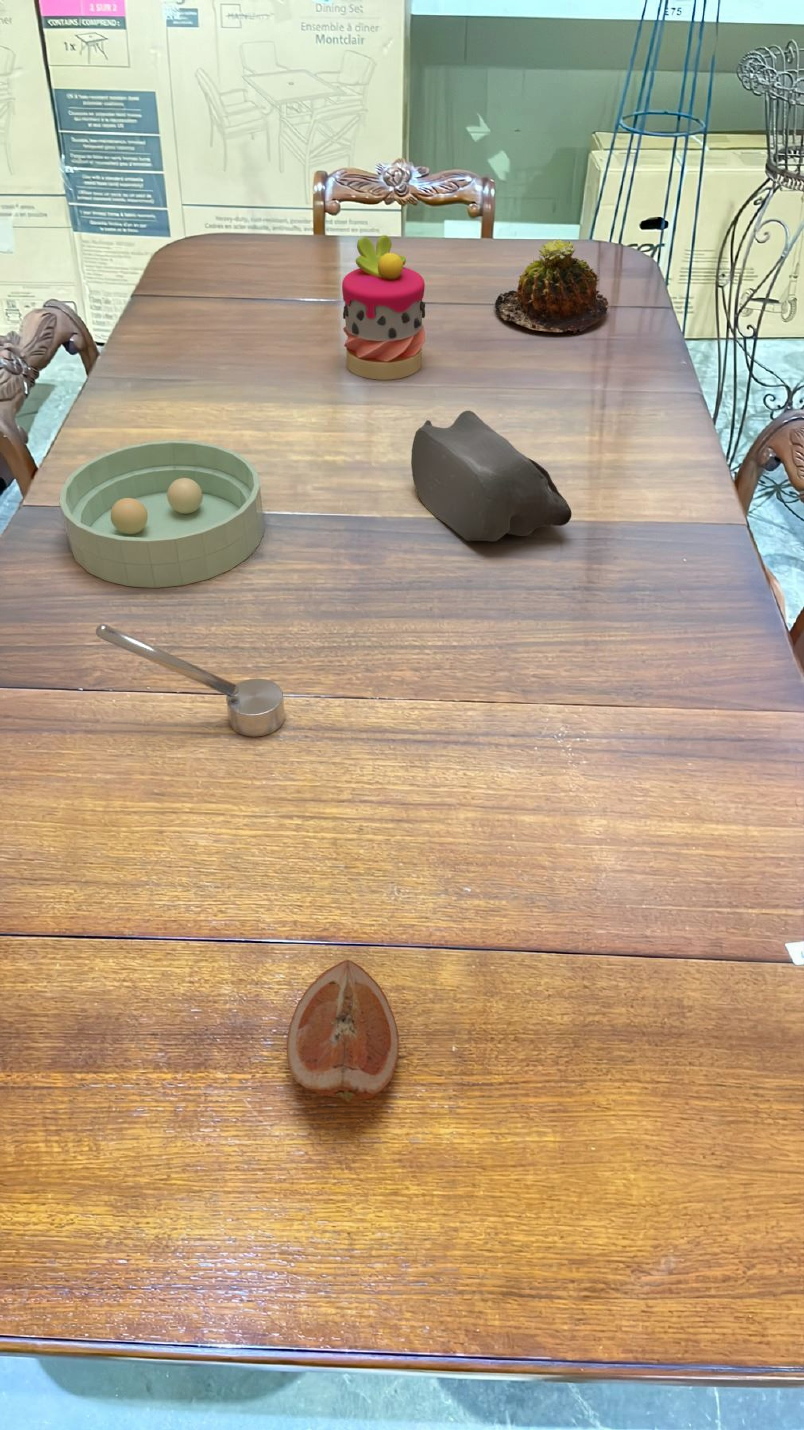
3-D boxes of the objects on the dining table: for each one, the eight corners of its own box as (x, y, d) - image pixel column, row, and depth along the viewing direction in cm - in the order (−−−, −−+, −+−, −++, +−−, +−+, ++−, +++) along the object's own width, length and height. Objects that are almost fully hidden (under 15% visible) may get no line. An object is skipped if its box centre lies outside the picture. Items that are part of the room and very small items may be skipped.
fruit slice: (397, 1129, 63) (397, 1085, 59) (281, 1127, 63) (275, 1082, 59) (400, 1004, 69) (400, 958, 66) (295, 1002, 69) (289, 956, 66)
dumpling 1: (160, 515, 109) (132, 511, 111) (142, 492, 106) (114, 488, 108) (144, 543, 108) (116, 539, 109) (125, 521, 105) (97, 517, 106)
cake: (441, 362, 141) (444, 243, 131) (384, 388, 135) (383, 266, 125) (383, 340, 146) (382, 224, 136) (327, 364, 141) (321, 245, 131)
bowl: (66, 603, 101) (52, 549, 97) (77, 499, 115) (66, 447, 111) (271, 584, 104) (266, 530, 100) (257, 484, 118) (252, 433, 114)
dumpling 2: (211, 509, 111) (208, 481, 112) (187, 494, 108) (183, 465, 109) (186, 525, 112) (182, 497, 114) (161, 510, 109) (158, 482, 111)
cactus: (493, 289, 160) (497, 220, 154) (600, 291, 160) (609, 222, 153) (495, 336, 147) (500, 262, 141) (613, 338, 147) (623, 265, 140)
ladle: (284, 698, 91) (275, 597, 84) (285, 735, 88) (275, 633, 81) (121, 708, 90) (97, 608, 83) (115, 746, 87) (91, 644, 80)
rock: (584, 537, 110) (593, 467, 105) (490, 568, 106) (495, 496, 100) (486, 460, 122) (490, 394, 117) (399, 485, 118) (399, 418, 112)
